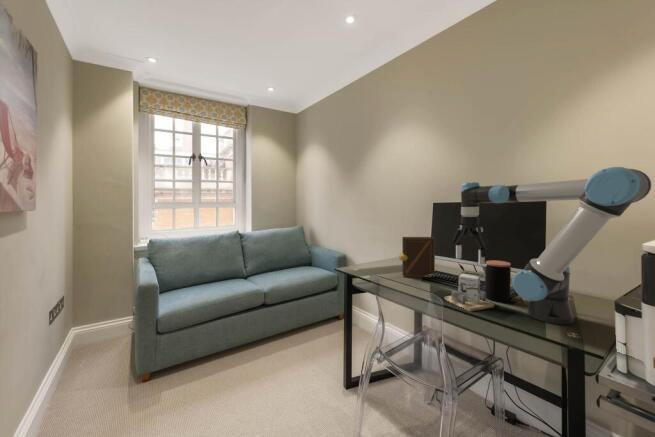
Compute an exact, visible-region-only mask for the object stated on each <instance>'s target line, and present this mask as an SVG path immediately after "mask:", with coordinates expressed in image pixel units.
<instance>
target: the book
mask: <svg viewBox="0 0 655 437" xmlns="http://www.w3.org/2000/svg"><path fill="white" fill-rule="evenodd" d="M401 241H402V252H401V253H399V254H398V260H400V261H401V262H402V264H401V265H402V267H401V268H402V276H403V278H421V277H423V276H425V275H428V274H431V273H434V272H435V271H436V268H435V267H436V265H435V263H436V262H435V261H436V259H435V256H436V252H435V251H436V250H435V249H436V248H435V247H436V238H435V237H433V236H402V240H401ZM421 279H422V278H421Z"/></svg>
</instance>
